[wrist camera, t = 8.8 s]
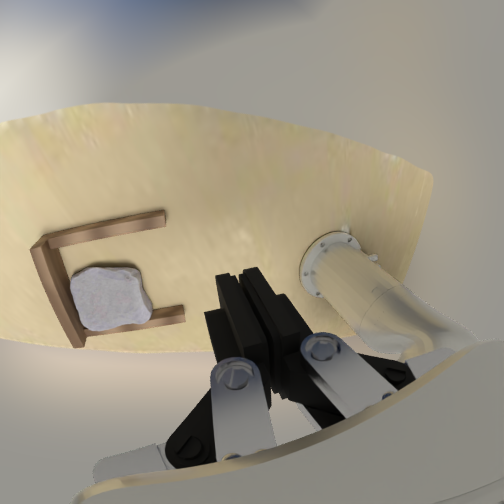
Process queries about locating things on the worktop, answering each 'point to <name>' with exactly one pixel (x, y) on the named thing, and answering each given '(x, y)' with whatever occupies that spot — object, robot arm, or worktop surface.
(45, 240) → the brown u-shaped frame
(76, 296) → the stone block
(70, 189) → the worktop surface
